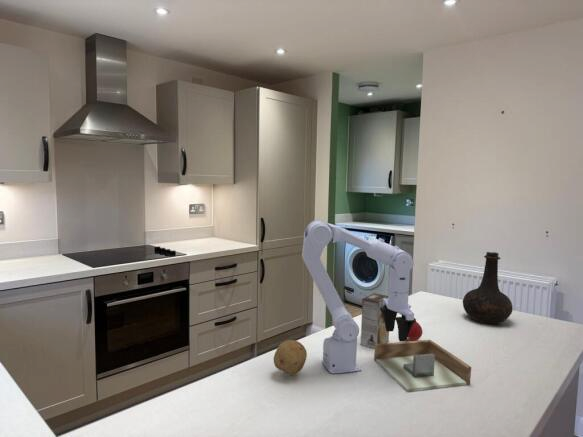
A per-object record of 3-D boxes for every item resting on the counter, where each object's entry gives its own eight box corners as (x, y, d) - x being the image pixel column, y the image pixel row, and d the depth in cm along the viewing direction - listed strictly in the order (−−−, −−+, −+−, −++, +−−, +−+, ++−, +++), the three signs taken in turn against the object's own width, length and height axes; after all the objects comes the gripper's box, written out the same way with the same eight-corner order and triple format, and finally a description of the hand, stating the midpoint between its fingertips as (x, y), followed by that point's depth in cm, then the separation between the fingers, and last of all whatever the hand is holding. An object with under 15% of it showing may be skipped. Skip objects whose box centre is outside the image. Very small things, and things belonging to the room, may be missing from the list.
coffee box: (372, 336, 142) (374, 292, 140) (389, 341, 138) (391, 296, 136) (359, 344, 134) (361, 298, 133) (377, 350, 131) (379, 302, 129)
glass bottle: (452, 314, 169) (457, 249, 166) (487, 311, 174) (491, 248, 172) (484, 330, 152) (490, 257, 149) (521, 326, 157) (527, 255, 155)
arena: (407, 392, 105) (408, 373, 104) (374, 359, 123) (374, 344, 123) (470, 384, 110) (471, 367, 109) (429, 354, 128) (430, 339, 128)
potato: (277, 384, 107) (278, 348, 106) (270, 369, 115) (270, 335, 114) (309, 381, 109) (311, 345, 108) (300, 366, 118) (301, 333, 117)
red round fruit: (419, 338, 141) (421, 316, 141) (423, 345, 136) (424, 322, 135) (402, 337, 142) (404, 315, 141) (405, 344, 136) (407, 321, 135)
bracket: (433, 375, 112) (435, 355, 112) (414, 378, 111) (416, 357, 110) (421, 366, 118) (422, 346, 118) (403, 368, 117) (404, 348, 116)
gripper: (424, 297, 111) (421, 344, 112) (398, 283, 125) (395, 326, 126) (402, 298, 109) (399, 346, 111) (377, 284, 123) (375, 327, 125)
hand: (396, 335), depth 118 cm, fingers open, 7 cm apart
